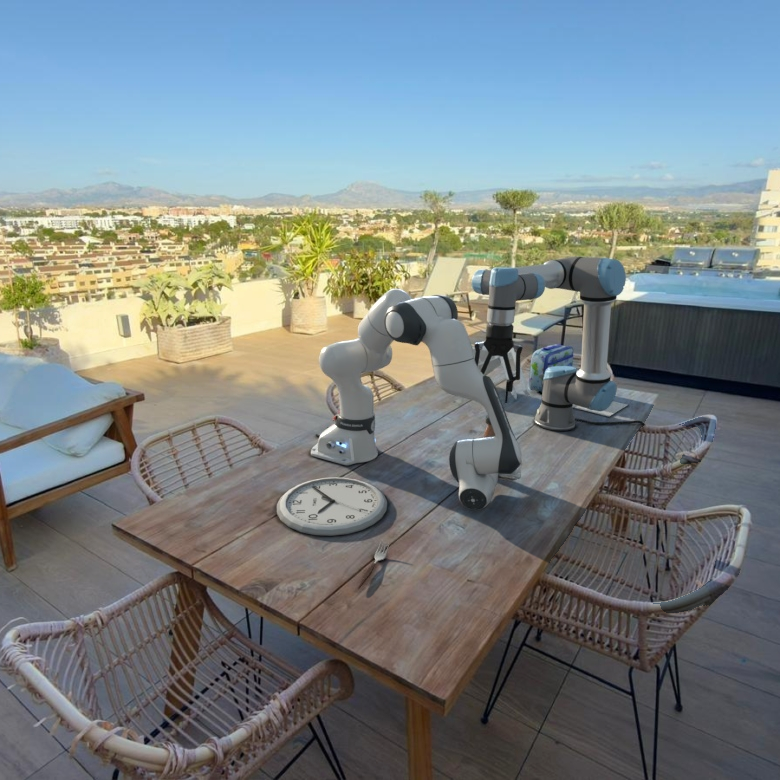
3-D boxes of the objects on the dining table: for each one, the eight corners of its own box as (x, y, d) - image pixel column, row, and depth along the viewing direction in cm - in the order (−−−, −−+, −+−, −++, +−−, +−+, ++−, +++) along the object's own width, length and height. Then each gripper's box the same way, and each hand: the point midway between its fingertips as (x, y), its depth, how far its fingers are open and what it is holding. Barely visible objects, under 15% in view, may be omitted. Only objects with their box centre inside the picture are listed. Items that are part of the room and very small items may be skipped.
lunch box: (545, 397, 238) (550, 352, 231) (524, 391, 245) (529, 348, 239) (572, 386, 255) (578, 344, 249) (552, 381, 262) (557, 340, 256)
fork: (352, 589, 110) (352, 581, 109) (380, 547, 124) (380, 540, 123) (364, 592, 109) (364, 583, 108) (390, 550, 123) (390, 542, 123)
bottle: (477, 473, 163) (482, 416, 157) (489, 470, 165) (493, 414, 159) (486, 479, 159) (491, 421, 153) (498, 476, 161) (503, 419, 155)
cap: (482, 421, 157) (483, 415, 157) (493, 419, 159) (493, 413, 159) (491, 426, 154) (491, 419, 154) (501, 424, 156) (502, 417, 155)
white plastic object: (461, 429, 252) (437, 405, 227) (444, 352, 274) (420, 323, 250) (535, 404, 240) (518, 377, 215) (510, 326, 262) (492, 293, 237)
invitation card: (608, 416, 214) (573, 407, 224) (608, 416, 214) (573, 408, 224) (628, 404, 229) (594, 396, 238) (628, 405, 229) (594, 397, 238)
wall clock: (392, 527, 129) (268, 531, 127) (391, 533, 130) (269, 537, 127) (383, 473, 158) (282, 475, 155) (383, 478, 158) (282, 480, 156)
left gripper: (521, 469, 144) (525, 450, 157) (448, 458, 150) (458, 440, 163) (519, 490, 146) (523, 469, 159) (447, 478, 152) (457, 459, 165)
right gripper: (535, 323, 149) (527, 399, 156) (467, 319, 153) (462, 394, 160) (535, 327, 142) (527, 407, 149) (464, 323, 146) (460, 401, 153)
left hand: (489, 455), depth 161 cm, fingers open, 5 cm apart
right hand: (494, 400), depth 155 cm, fingers open, 6 cm apart
